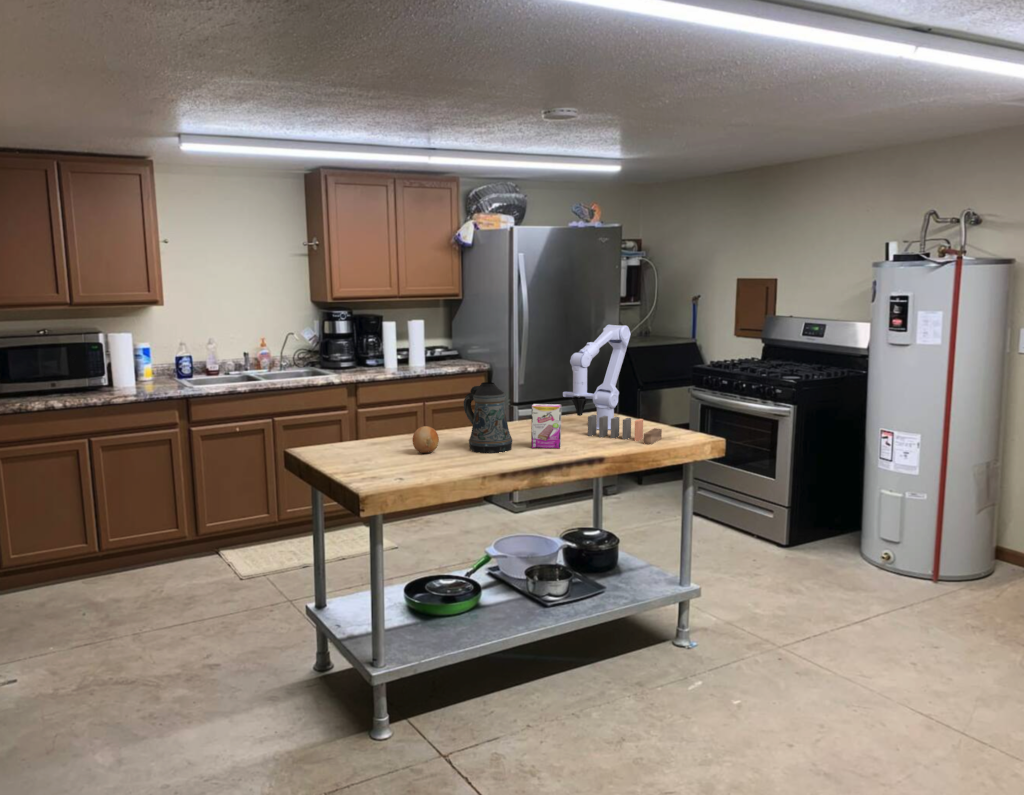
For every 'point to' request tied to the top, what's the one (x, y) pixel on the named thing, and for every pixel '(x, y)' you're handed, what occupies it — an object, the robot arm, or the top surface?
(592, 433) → the domino
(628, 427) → the domino
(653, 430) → the end block
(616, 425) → the domino
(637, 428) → the domino
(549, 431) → the candy bar box
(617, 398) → the robot arm
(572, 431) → the top surface
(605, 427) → the domino
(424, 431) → the onion
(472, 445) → the beer stein
